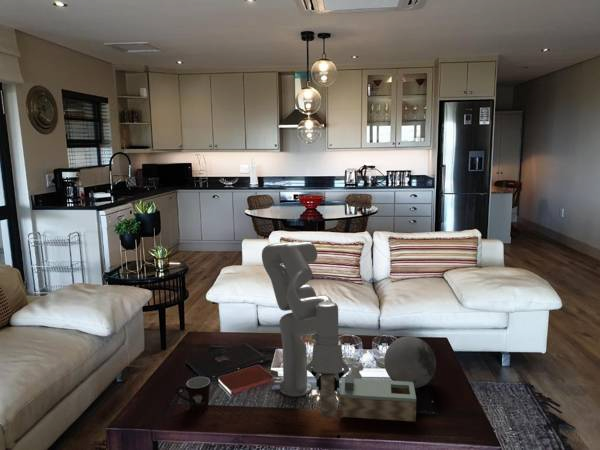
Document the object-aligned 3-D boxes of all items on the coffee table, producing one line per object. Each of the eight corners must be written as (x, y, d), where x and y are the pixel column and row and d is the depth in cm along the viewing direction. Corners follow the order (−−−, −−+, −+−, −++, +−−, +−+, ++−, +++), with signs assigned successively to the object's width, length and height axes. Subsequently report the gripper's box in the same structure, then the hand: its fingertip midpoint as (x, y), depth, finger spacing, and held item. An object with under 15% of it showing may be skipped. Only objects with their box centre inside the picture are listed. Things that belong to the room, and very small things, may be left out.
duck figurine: (353, 399, 185) (371, 378, 183) (338, 387, 185) (355, 366, 183) (354, 384, 197) (371, 364, 194) (340, 372, 197) (356, 353, 195)
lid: (340, 397, 167) (340, 386, 166) (342, 381, 178) (342, 370, 178) (416, 402, 163) (416, 390, 162) (413, 384, 174) (413, 374, 174)
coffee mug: (215, 403, 180) (214, 378, 178) (203, 415, 172) (202, 389, 170) (188, 398, 184) (187, 374, 182) (176, 410, 176) (174, 384, 174)
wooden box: (340, 419, 168) (340, 398, 167) (342, 401, 180) (342, 381, 178) (415, 424, 164) (416, 402, 163) (412, 405, 176) (413, 385, 175)
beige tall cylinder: (320, 417, 162) (319, 376, 159) (321, 410, 166) (321, 369, 164) (334, 418, 161) (334, 377, 158) (336, 410, 166) (335, 370, 163)
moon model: (390, 399, 180) (390, 349, 177) (379, 374, 200) (380, 329, 197) (442, 397, 181) (443, 348, 178) (426, 373, 201) (427, 328, 197)
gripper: (300, 342, 157) (301, 393, 160) (352, 344, 155) (352, 396, 157) (303, 333, 164) (304, 382, 167) (353, 335, 162) (353, 385, 165)
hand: (327, 388), depth 162 cm, fingers closed on beige tall cylinder, 4 cm apart
